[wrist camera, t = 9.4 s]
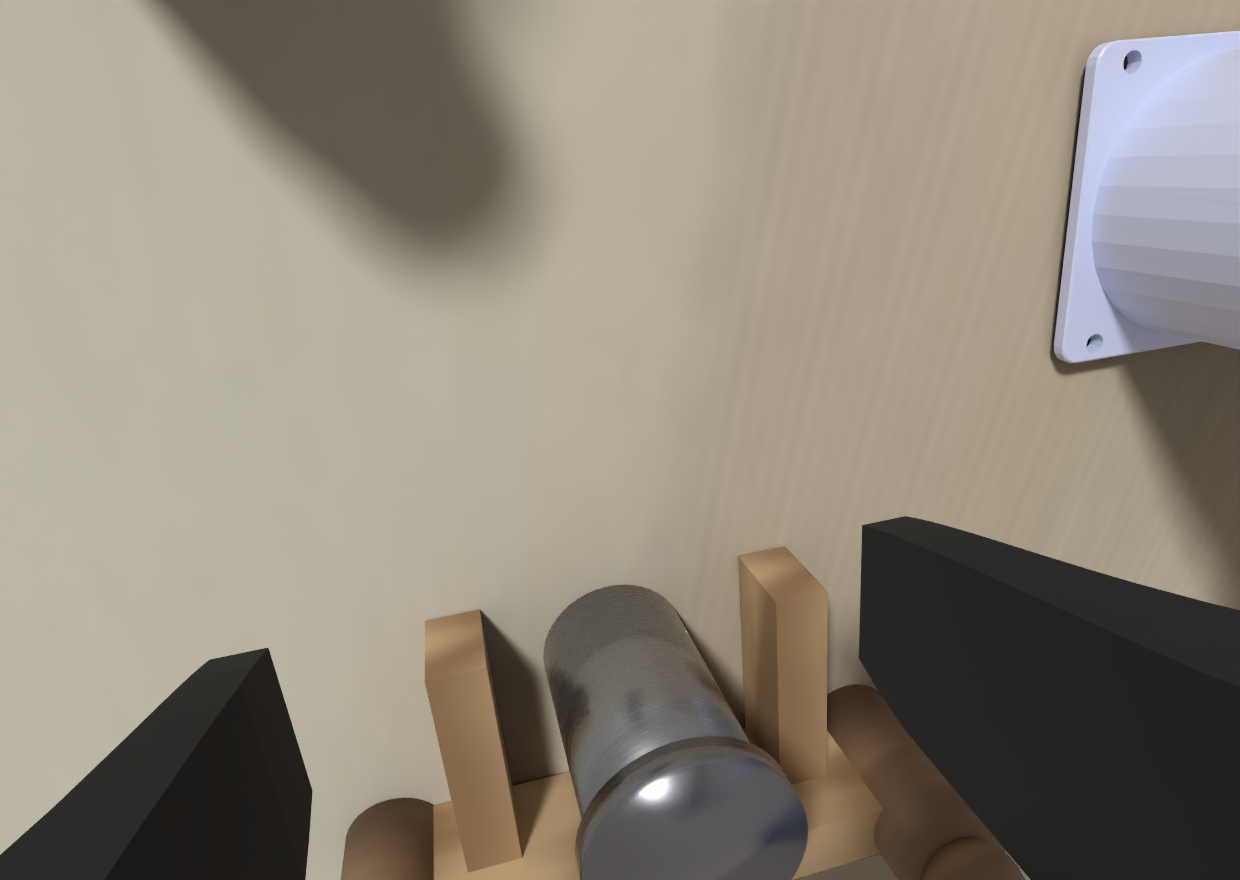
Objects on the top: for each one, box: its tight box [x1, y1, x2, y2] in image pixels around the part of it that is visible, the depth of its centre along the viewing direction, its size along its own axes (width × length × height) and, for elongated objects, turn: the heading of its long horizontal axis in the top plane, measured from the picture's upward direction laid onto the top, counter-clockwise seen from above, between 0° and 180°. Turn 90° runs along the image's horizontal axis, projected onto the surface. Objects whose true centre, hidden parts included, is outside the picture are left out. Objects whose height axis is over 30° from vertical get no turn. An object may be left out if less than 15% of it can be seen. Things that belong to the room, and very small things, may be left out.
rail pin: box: [544, 585, 808, 880], centre depth 18 cm, size 5×5×7 cm
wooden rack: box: [341, 547, 1025, 880], centre depth 18 cm, size 17×8×7 cm, turn 96°
